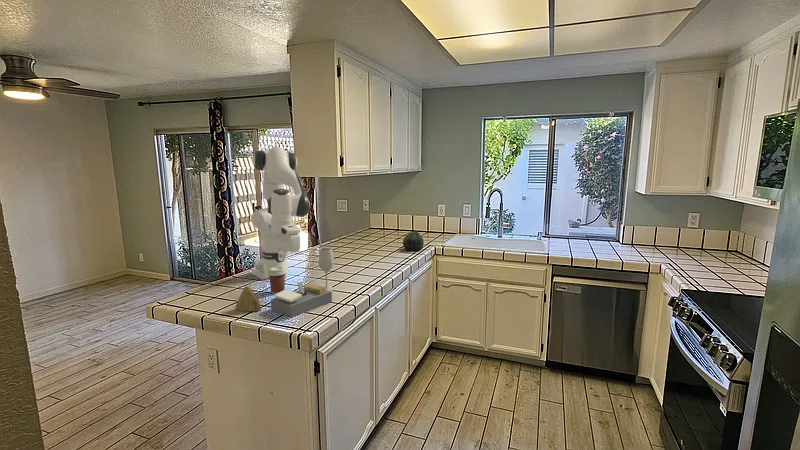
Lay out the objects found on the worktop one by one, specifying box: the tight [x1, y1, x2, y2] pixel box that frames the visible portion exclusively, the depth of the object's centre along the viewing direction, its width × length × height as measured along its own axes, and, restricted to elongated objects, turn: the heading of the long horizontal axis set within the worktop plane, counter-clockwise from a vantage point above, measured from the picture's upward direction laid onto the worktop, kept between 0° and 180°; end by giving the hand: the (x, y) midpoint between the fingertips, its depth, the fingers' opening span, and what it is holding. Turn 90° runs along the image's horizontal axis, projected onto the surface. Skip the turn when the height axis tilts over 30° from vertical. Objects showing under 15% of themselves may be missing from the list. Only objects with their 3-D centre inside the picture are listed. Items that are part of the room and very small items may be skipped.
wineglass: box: [317, 247, 335, 292], centre depth 198 cm, size 8×8×21 cm
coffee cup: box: [267, 267, 286, 295], centre depth 195 cm, size 9×9×12 cm
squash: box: [402, 231, 425, 251], centre depth 288 cm, size 14×15×15 cm
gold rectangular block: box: [303, 283, 326, 294], centre depth 182 cm, size 11×4×2 cm, turn 54°
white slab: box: [273, 289, 302, 302], centre depth 170 cm, size 11×6×1 cm, turn 54°
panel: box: [270, 287, 333, 318], centre depth 176 cm, size 14×23×7 cm, turn 144°
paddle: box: [296, 281, 305, 295], centre depth 176 cm, size 2×2×6 cm
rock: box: [234, 286, 262, 312], centre depth 171 cm, size 11×9×10 cm
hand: (282, 258), depth 172 cm, fingers closed
